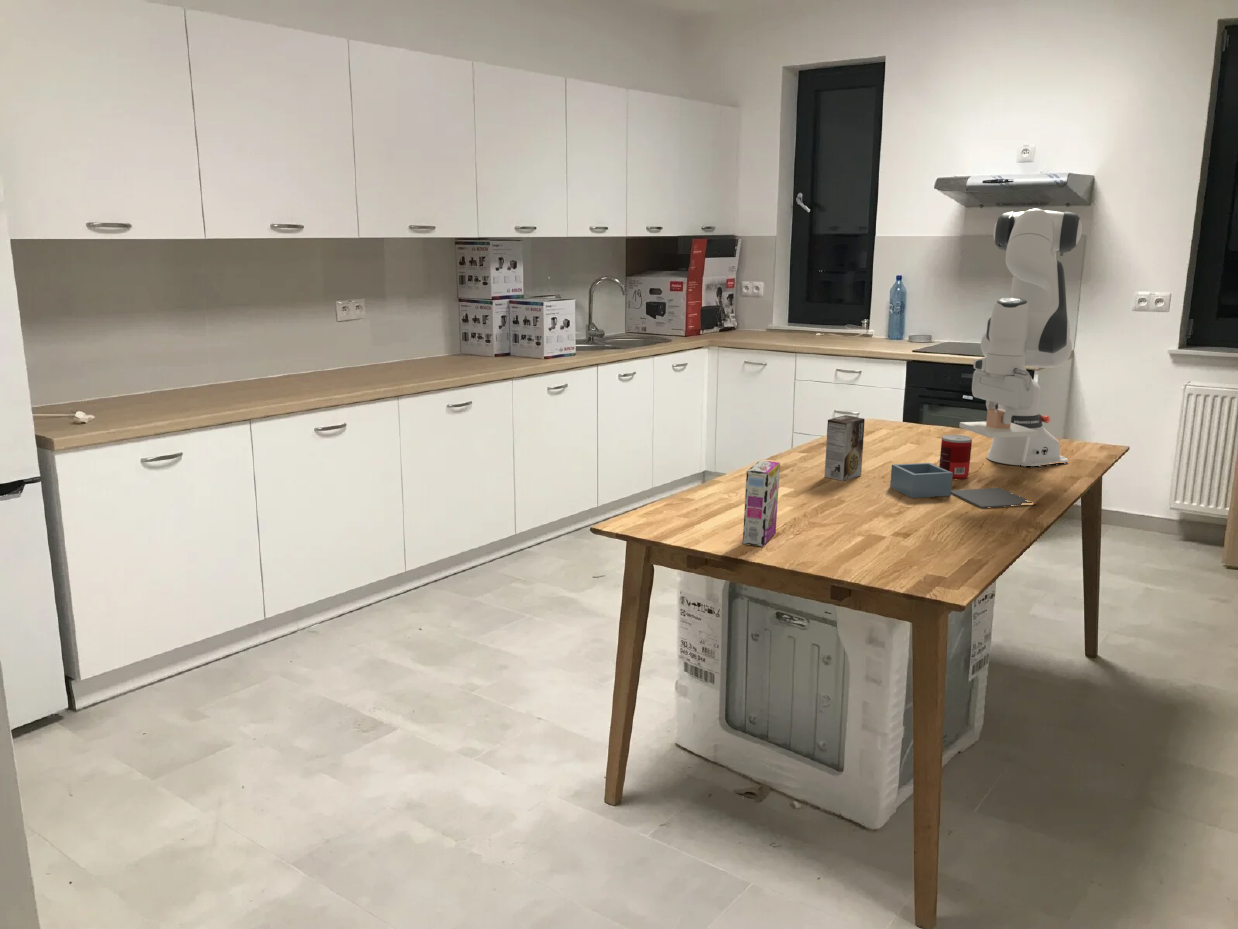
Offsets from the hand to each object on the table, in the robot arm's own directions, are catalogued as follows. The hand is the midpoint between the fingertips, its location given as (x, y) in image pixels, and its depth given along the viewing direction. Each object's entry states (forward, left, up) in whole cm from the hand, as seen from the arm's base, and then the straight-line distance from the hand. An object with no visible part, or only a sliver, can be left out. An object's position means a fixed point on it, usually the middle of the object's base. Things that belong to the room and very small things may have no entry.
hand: (998, 421), depth 238 cm
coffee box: (+27, -28, -20) cm, 44 cm away
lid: (0, 0, -3) cm, 3 cm away
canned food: (-3, -22, -20) cm, 30 cm away
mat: (0, 0, -20) cm, 20 cm away
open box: (+14, -10, -20) cm, 26 cm away
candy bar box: (+69, +19, -20) cm, 74 cm away
